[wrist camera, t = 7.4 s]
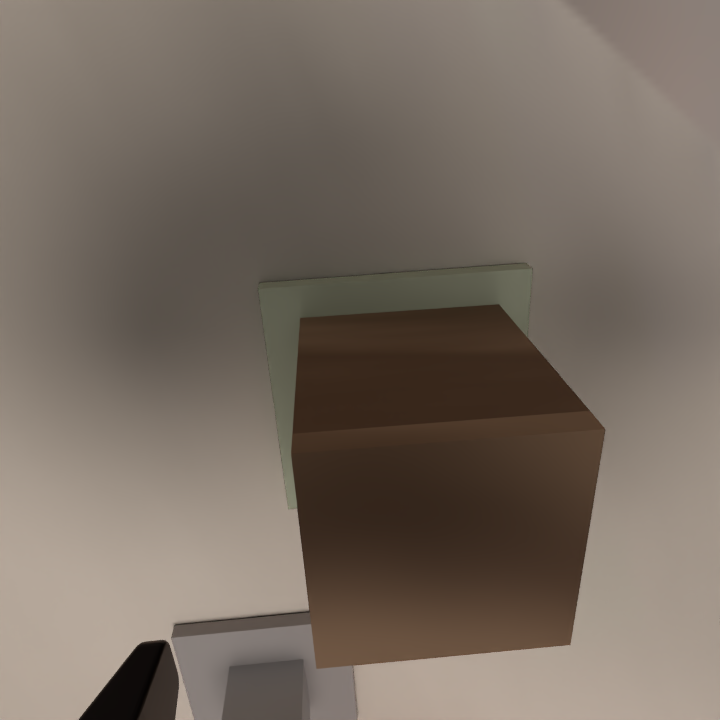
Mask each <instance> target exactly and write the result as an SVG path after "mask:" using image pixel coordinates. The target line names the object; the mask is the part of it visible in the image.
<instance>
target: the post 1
mask: <svg viewBox="0 0 720 720" xmlns="http://www.w3.org/2000/svg"><path fill="white" fill-rule="evenodd" d="M171 639H172V643H173V646H174V650H175V653H176V657H177V660H178V664H179V667H180V671H181V674H182V678H183V681H184V685H185V688H186V692H187V695H188V699H189V702H190V706H191V709H192V713H193V716H194V720H357V708H356V697H355V686H354V675H353V666H343V667H332V668H322V669H316V662H315V653H314V645H313V636H312V628H311V619H310V612H307V613H297V614H287V615H276V616H266V617H256V618H245V619H235V620H225V621H215V622H204V623H194V624H184V625H174V629H173V633H172V637H171Z"/></svg>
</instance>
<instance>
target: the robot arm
mask: <svg viewBox="0 0 720 720" xmlns="http://www.w3.org/2000/svg"><path fill="white" fill-rule="evenodd" d="M178 690H179V678H178V672H177V669H176V665H175V662H174V659H173V655H172V652H171V648H170V645H169V643H168V642H167V641H165V640H158V641H148V642H142V643H141V644H139V645H138V646H137V647H136V648H135V649H134V650H133V652H132V653H131V654H130V655H129V657H128V658H127V659H126V660H125V662H124V663H123V664H122V665H121V667H120V668H119V669H118V670H117V672H116V673H115V674H114V676H113V677H112V678H111V679H110V681H109V682H108V683H107V684H106V686H105V687H104V688H103V689H102V691H101V692H100V693H99V694H98V696H97V697H96V698H95V699H94V701H93V702H92V703H91V705H90V706H89V707H88V708H87V710H86V711H85V712H84V713H83V715H82V716H81V717H80V718H79V720H175V715H176V707H177V699H178Z"/></svg>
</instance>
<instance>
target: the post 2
mask: <svg viewBox="0 0 720 720" xmlns="http://www.w3.org/2000/svg"><path fill="white" fill-rule="evenodd" d="M532 271H533V268H532V267H530V266H529V265H528V264H527V263H520V264H507V265H493V266H480V267H467V268H453V269H440V270H426V271H413V272H399V273H386V274H373V275H359V276H346V277H332V278H319V279H305V280H292V281H279V282H265V283H259V287H258V294H259V301H260V308H261V315H262V323H263V330H264V337H265V344H266V351H267V359H268V366H269V373H270V380H271V388H272V395H273V402H274V409H275V416H276V424H277V431H278V438H279V445H280V453H281V460H282V467H283V474H284V481H285V489H286V496H287V503H288V509H296V508H297V501H296V492H295V484H294V475H293V467H292V458H291V446H292V431H293V417H294V402H295V387H296V372H297V357H298V342H299V327H300V318H306V317H320V316H335V315H350V314H364V313H379V312H393V311H408V310H422V309H437V308H452V307H466V306H481V305H495V304H499V305H500V306H501V307H502V308H503V310H504V311H505V312H506V313H507V314H508V315H509V317H510V318H511V319H512V320H513V321H514V322H515V324H516V325H517V326H518V327H519V328H520V330H521V331H522V332H523V333H524V334H525V335H526V337H527V336H528V323H529V310H530V297H531V284H532Z"/></svg>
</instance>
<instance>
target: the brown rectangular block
mask: <svg viewBox="0 0 720 720" xmlns="http://www.w3.org/2000/svg"><path fill="white" fill-rule="evenodd" d="M604 434H605V428H604V427H603V426H602V425H601V423H600V422H599V421H598V420H597V419H596V418H595V416H594V415H593V414H592V413H591V412H590V411H589V409H588V408H587V407H586V406H585V405H584V404H583V402H582V401H581V400H580V399H579V398H578V396H577V395H576V394H575V393H574V392H573V391H572V389H571V388H570V387H569V386H568V385H567V384H566V382H565V381H564V380H563V379H562V378H561V376H560V375H559V374H558V373H557V372H556V371H555V369H554V368H553V367H552V366H551V365H550V364H549V362H548V361H547V360H546V359H545V358H544V357H543V355H542V354H541V353H540V352H539V351H538V349H537V348H536V347H535V346H534V345H533V344H532V342H531V341H530V340H529V339H528V338H527V337H526V335H525V334H524V333H523V332H522V331H521V330H520V328H519V327H518V326H517V325H516V324H515V322H514V321H513V320H512V319H511V318H510V317H509V315H508V314H507V313H506V312H505V311H504V310H503V308H502V307H501V306H500V305H499V304H495V305H481V306H466V307H452V308H437V309H422V310H408V311H393V312H379V313H364V314H350V315H335V316H320V317H306V318H300V327H299V342H298V357H297V372H296V387H295V402H294V417H293V431H292V446H291V458H292V467H293V475H294V484H295V492H296V501H297V509H298V518H299V526H300V534H301V543H302V551H303V560H304V568H305V577H306V585H307V594H308V602H309V611H310V619H311V628H312V636H313V645H314V653H315V662H316V669H322V668H332V667H343V666H353V665H364V664H374V663H385V662H395V661H406V660H416V659H427V658H437V657H448V656H458V655H469V654H479V653H490V652H500V651H511V650H521V649H532V648H542V647H553V646H563V645H570V643H571V637H572V631H573V625H574V619H575V612H576V606H577V600H578V594H579V588H580V582H581V576H582V569H583V563H584V557H585V551H586V545H587V539H588V533H589V526H590V520H591V514H592V508H593V502H594V496H595V490H596V483H597V477H598V471H599V465H600V459H601V453H602V447H603V440H604Z"/></svg>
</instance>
